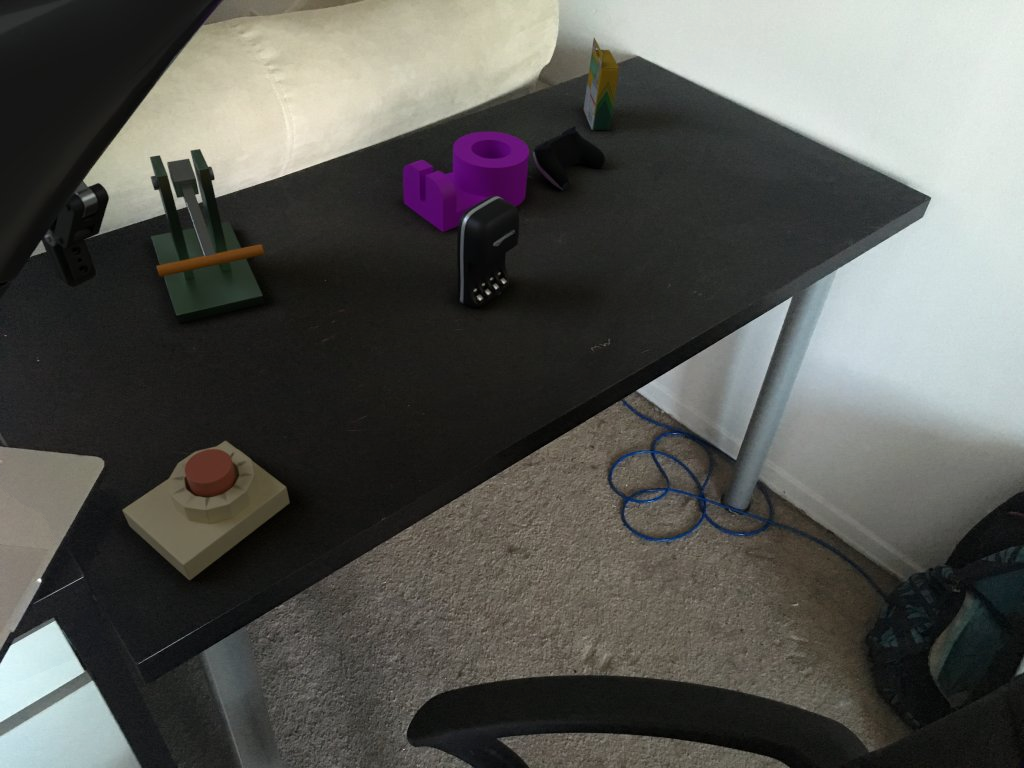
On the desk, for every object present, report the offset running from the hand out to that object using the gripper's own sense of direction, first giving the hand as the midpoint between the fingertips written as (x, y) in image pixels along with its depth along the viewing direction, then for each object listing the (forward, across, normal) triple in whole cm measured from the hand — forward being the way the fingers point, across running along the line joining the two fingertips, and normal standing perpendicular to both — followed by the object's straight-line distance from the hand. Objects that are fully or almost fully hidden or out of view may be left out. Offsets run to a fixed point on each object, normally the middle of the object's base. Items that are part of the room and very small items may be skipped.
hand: (77, 277), depth 58 cm
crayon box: (+19, +5, -85) cm, 88 cm away
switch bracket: (+18, +17, -20) cm, 32 cm away
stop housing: (+18, -11, +1) cm, 21 cm away
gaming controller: (+19, -1, -68) cm, 71 cm away
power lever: (+9, +13, -18) cm, 24 cm away
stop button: (+15, -11, 0) cm, 18 cm away
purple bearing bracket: (+19, +5, -53) cm, 57 cm away
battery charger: (+19, -10, -38) cm, 43 cm away
